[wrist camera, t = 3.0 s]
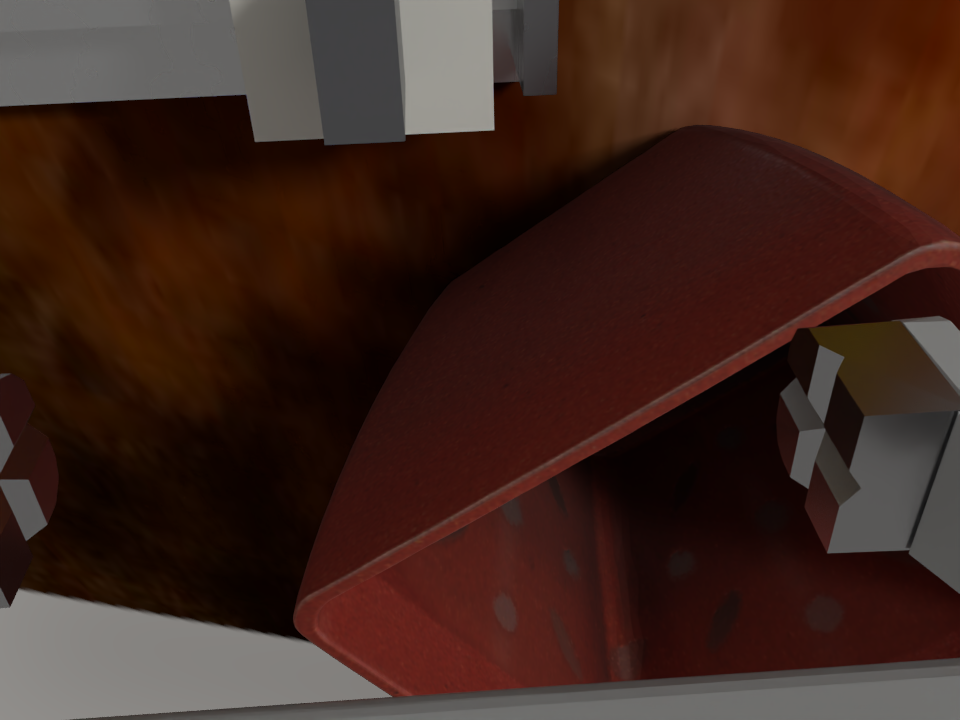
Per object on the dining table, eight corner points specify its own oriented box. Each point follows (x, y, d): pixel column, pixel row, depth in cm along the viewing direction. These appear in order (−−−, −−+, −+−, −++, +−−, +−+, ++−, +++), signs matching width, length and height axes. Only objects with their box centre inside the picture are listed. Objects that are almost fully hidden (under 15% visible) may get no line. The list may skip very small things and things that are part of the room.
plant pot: (573, 530, 48) (639, 868, 34) (319, 286, 38) (271, 623, 24) (925, 338, 41) (1175, 657, 28) (730, -11, 32) (971, 219, 18)
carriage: (236, -156, 27) (172, -94, 19) (477, -165, 27) (503, -108, 20) (274, 81, 31) (234, 205, 24) (482, 71, 31) (505, 190, 24)
